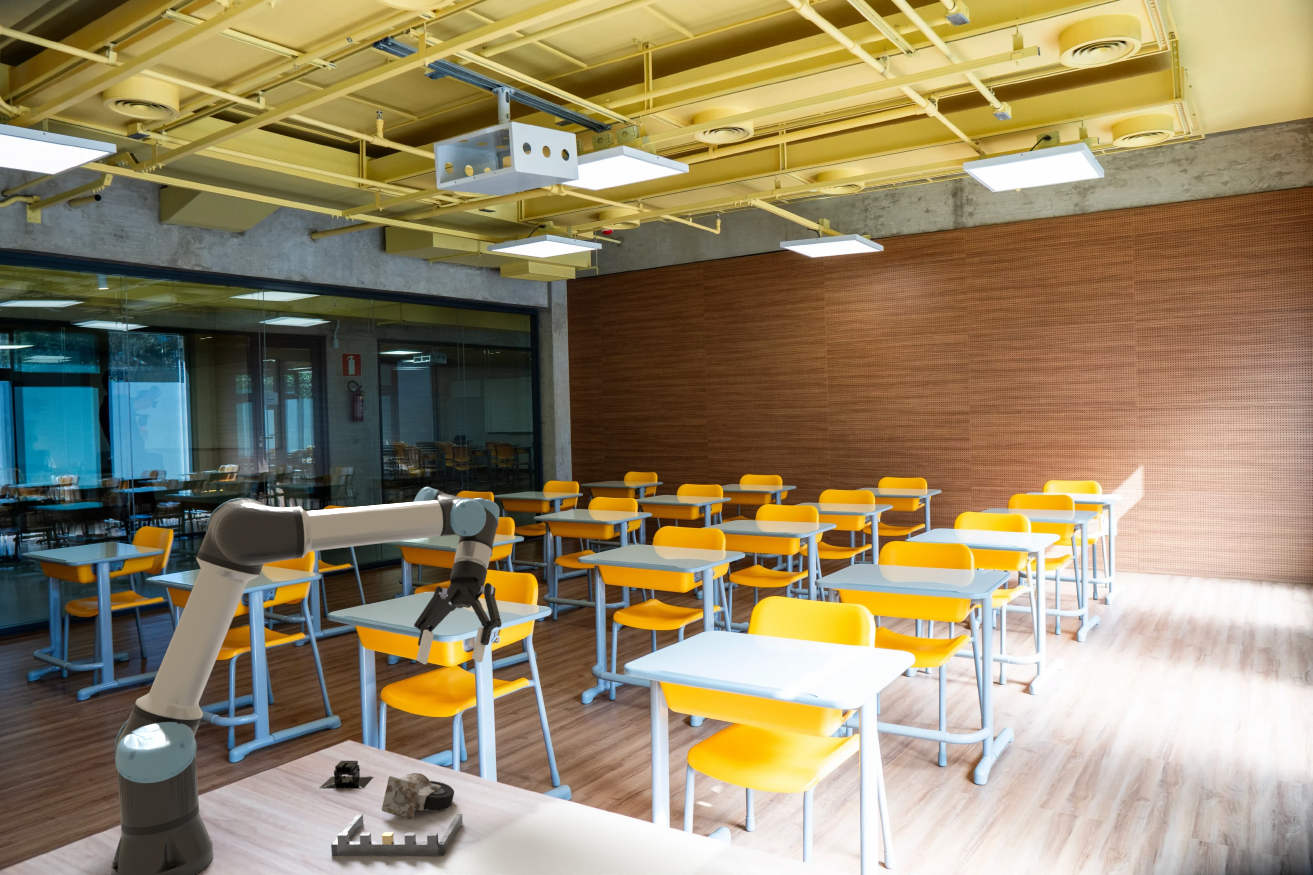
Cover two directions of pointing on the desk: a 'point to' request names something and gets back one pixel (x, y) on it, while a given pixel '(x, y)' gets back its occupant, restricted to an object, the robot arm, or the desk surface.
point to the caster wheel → (415, 795)
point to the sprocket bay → (392, 842)
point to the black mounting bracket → (346, 777)
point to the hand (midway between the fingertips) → (448, 661)
